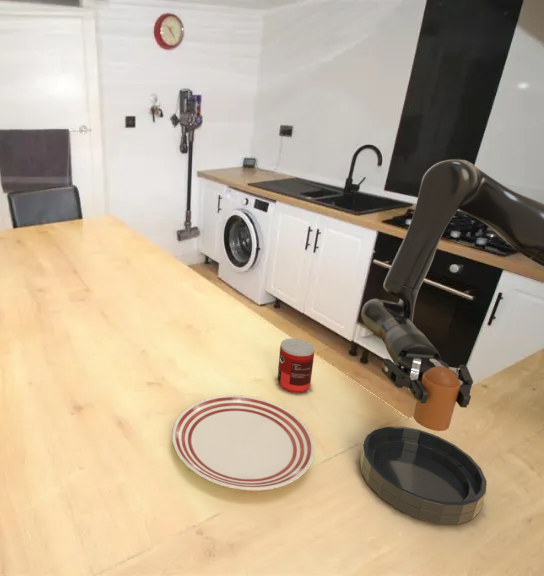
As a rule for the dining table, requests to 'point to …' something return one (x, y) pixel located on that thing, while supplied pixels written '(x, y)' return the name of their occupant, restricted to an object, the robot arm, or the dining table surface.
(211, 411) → the dinner plate
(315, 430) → the dining table surface
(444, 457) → the shallow round tray
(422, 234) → the robot arm
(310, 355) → the canned food
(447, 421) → the orange round-topped cylinder
